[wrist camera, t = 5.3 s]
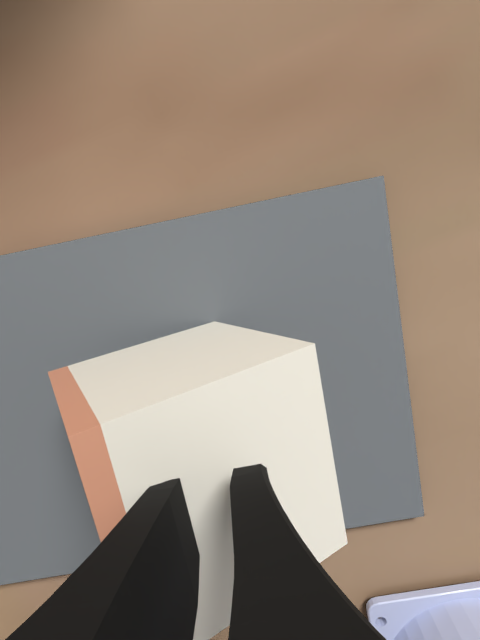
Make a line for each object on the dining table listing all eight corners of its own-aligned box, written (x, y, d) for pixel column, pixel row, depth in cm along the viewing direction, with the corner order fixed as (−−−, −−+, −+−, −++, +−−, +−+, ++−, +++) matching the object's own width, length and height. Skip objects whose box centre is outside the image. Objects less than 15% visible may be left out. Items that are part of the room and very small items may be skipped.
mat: (419, 508, 18) (424, 516, 17) (-15, 579, 19) (-22, 588, 18) (378, 177, 15) (383, 175, 14) (-131, 283, 16) (-143, 285, 15)
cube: (347, 543, 12) (144, 683, 9) (244, 460, 17) (97, 532, 14) (314, 343, 10) (67, 436, 8) (214, 321, 16) (47, 371, 13)
